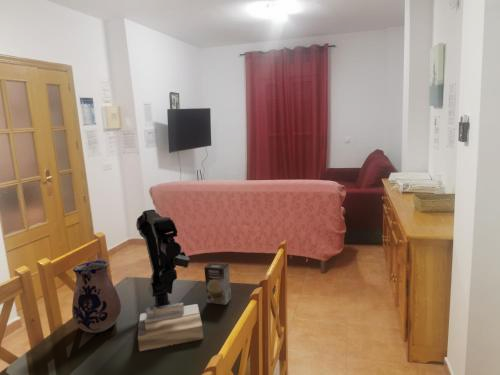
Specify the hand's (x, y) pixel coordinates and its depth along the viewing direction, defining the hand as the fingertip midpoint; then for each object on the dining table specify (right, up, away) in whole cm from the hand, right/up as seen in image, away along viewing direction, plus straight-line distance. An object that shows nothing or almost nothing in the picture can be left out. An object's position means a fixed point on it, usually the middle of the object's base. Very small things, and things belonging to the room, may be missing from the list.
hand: (170, 289), depth 149 cm
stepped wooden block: (+3, -15, -11) cm, 18 cm away
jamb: (+1, -13, -2) cm, 14 cm away
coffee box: (+18, -9, +16) cm, 26 cm away
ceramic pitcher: (-28, -15, +3) cm, 32 cm away
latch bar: (-1, -8, -4) cm, 9 cm away
